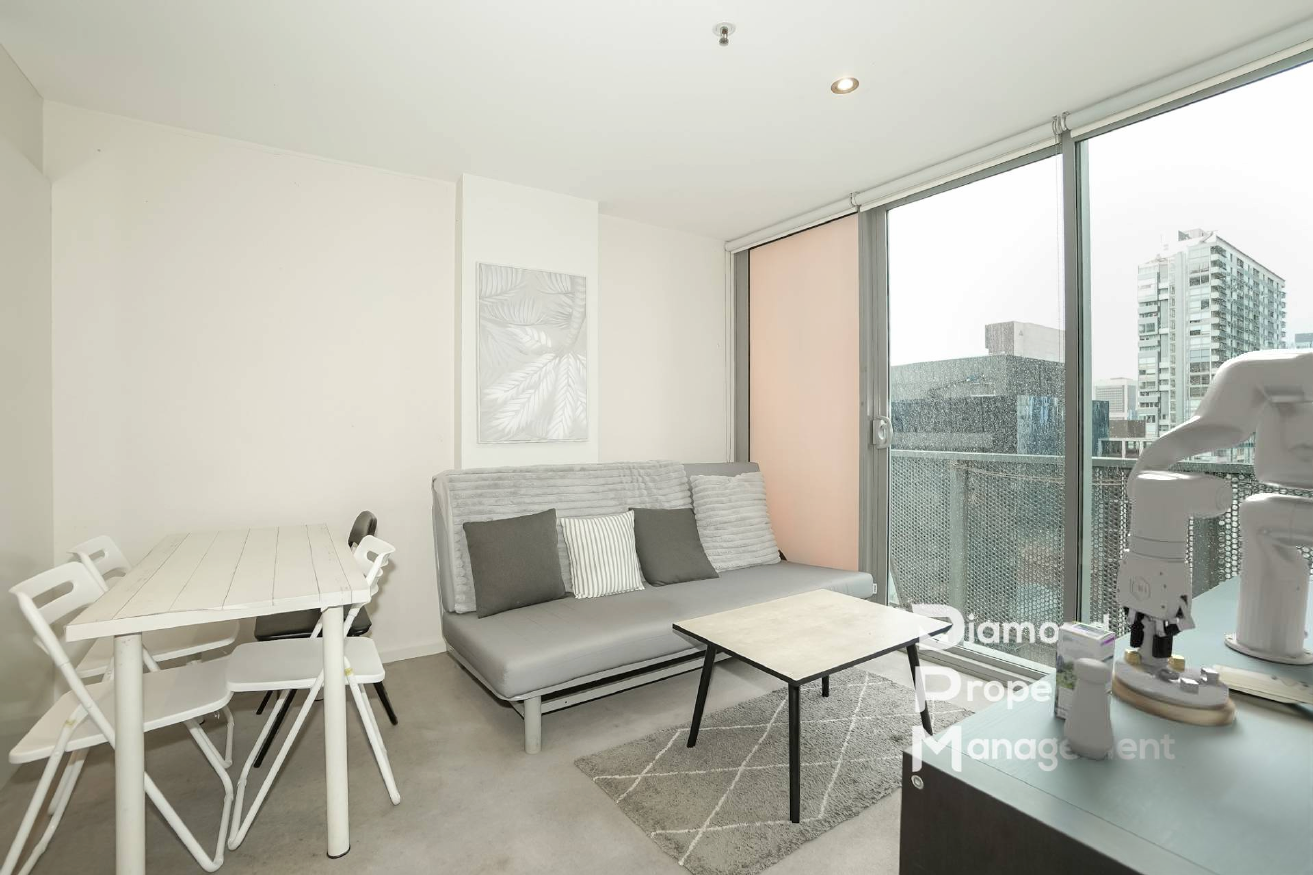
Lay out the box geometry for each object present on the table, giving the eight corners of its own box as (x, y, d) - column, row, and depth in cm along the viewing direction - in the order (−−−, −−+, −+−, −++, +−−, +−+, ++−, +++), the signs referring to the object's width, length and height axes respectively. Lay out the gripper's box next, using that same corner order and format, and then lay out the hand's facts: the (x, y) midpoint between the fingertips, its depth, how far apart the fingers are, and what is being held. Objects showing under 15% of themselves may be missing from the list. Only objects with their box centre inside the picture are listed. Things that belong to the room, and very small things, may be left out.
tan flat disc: (1143, 671, 111) (1144, 660, 111) (1256, 715, 96) (1257, 702, 96) (1085, 686, 105) (1086, 674, 105) (1196, 734, 90) (1197, 721, 90)
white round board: (1097, 679, 103) (1099, 658, 103) (1137, 661, 110) (1138, 642, 110) (1206, 718, 90) (1208, 695, 90) (1243, 696, 98) (1244, 674, 97)
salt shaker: (1121, 766, 82) (1128, 673, 81) (1074, 760, 83) (1080, 669, 82) (1099, 742, 88) (1105, 655, 87) (1055, 737, 89) (1060, 651, 88)
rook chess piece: (1132, 662, 105) (1133, 617, 104) (1139, 654, 108) (1140, 610, 107) (1166, 671, 102) (1167, 625, 101) (1172, 662, 104) (1173, 617, 104)
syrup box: (1111, 723, 93) (1117, 631, 92) (1093, 733, 90) (1099, 638, 89) (1069, 706, 98) (1075, 619, 97) (1051, 716, 95) (1057, 626, 94)
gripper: (1096, 536, 111) (1090, 634, 112) (1186, 561, 94) (1178, 675, 96) (1132, 535, 112) (1126, 632, 113) (1227, 560, 95) (1219, 672, 97)
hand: (1150, 651), depth 104 cm, fingers closed on rook chess piece, 3 cm apart
